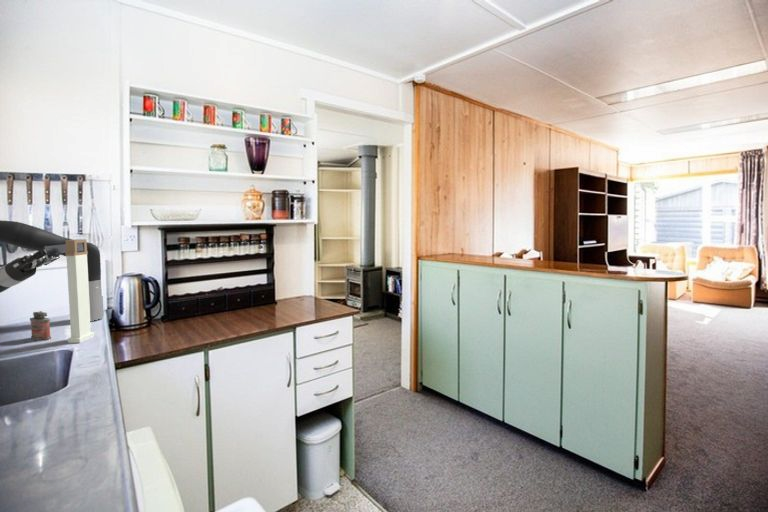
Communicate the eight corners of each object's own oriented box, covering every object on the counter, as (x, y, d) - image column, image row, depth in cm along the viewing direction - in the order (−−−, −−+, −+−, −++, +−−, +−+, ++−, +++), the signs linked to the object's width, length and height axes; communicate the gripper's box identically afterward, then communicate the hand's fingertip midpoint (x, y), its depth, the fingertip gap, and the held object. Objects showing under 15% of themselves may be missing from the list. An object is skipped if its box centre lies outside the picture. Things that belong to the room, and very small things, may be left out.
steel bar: (52, 254, 145) (50, 245, 145) (83, 250, 146) (82, 242, 146) (46, 254, 142) (44, 246, 142) (78, 251, 143) (76, 242, 143)
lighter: (28, 338, 147) (26, 311, 146) (38, 336, 150) (37, 309, 149) (43, 341, 145) (41, 313, 144) (53, 338, 148) (52, 311, 147)
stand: (83, 336, 151) (78, 239, 148) (94, 336, 152) (89, 239, 148) (67, 342, 143) (61, 240, 140) (79, 342, 144) (74, 240, 140)
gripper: (-10, 265, 136) (32, 242, 136) (25, 261, 151) (63, 239, 150) (3, 285, 137) (45, 261, 137) (37, 278, 151) (75, 257, 151)
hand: (54, 250), depth 144 cm, fingers open, 8 cm apart
